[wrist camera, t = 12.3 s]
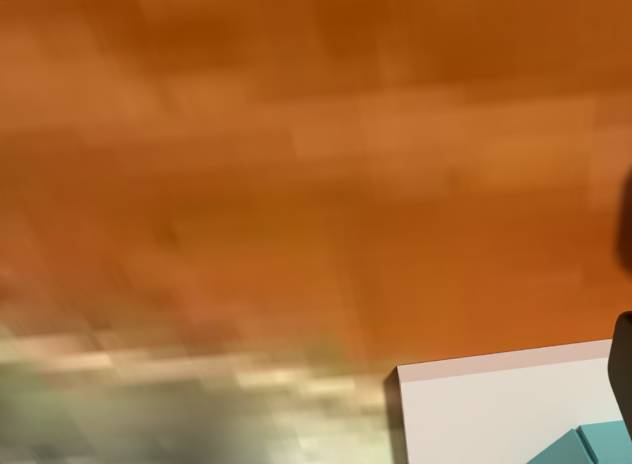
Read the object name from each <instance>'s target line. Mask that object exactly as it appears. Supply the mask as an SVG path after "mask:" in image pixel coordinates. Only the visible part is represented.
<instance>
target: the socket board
mask: <svg viewBox="0 0 632 464" xmlns="http://www.w3.org/2000/svg"><path fill="white" fill-rule="evenodd" d="M611 344H612V339H607V340H599V341H591V342H583V343H576V344H568V345H560V346H552V347H544V348H536V349H528V350H520V351H512V352H504V353H496V354H489V355H481V356H473V357H465V358H457V359H449V360H441V361H433V362H425V363H417V364H410V365H402V366H397V369H398V379H399V388H400V397H401V406H402V415H403V425H404V434H405V443H406V452H407V461H408V464H632V442H631V439H630V437H629V434H628V431H627V429H626V426H625V423H624V420H623V418H622V415H621V412H620V410H619V407H618V404H617V402H616V399H615V396H614V393H613V391H612V388H611V385H610V382H609V378H608V371H607V365H608V358H609V354H610V349H611Z"/></svg>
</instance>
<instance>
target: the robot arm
mask: <svg viewBox="0 0 632 464" xmlns="http://www.w3.org/2000/svg"><path fill="white" fill-rule="evenodd" d="M607 371H608V378H609V382H610V385H611V388H612V391H613V393H614V396H615V399H616V402H617V404H618V407H619V410H620V412H621V415H622V418H623V420H624V423H625V426H626V429H627V431H628V434H629V437H630V439H631V442H632V311H626V312H623V313H622V314H620V315H619V317H618V318H617V321H616V325H615V330H614V334H613V339H612V344H611V349H610V354H609V358H608V365H607Z"/></svg>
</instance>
